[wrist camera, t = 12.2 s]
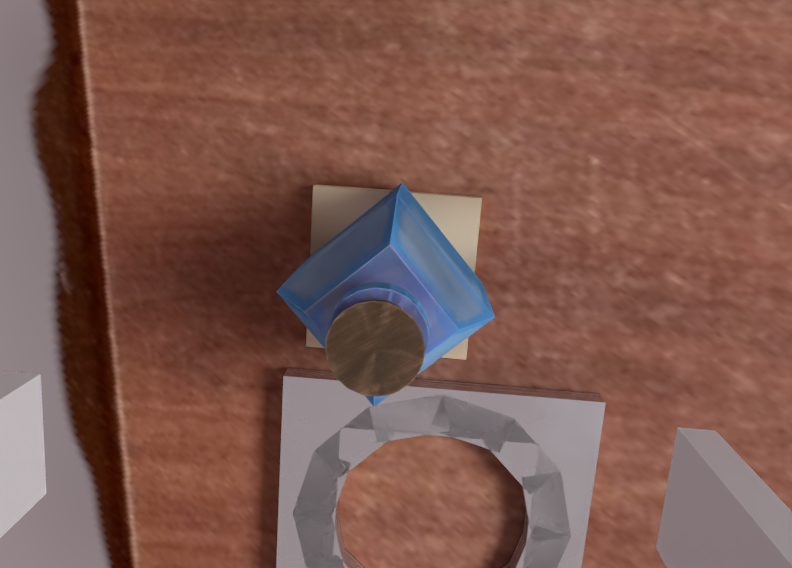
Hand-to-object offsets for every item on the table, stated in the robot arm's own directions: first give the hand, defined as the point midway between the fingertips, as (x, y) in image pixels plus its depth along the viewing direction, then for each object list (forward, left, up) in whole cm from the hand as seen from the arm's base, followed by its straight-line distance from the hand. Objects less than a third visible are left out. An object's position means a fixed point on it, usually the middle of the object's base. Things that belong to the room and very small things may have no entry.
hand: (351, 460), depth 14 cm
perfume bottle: (0, 0, -20) cm, 20 cm away
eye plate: (+13, +3, -21) cm, 25 cm away
